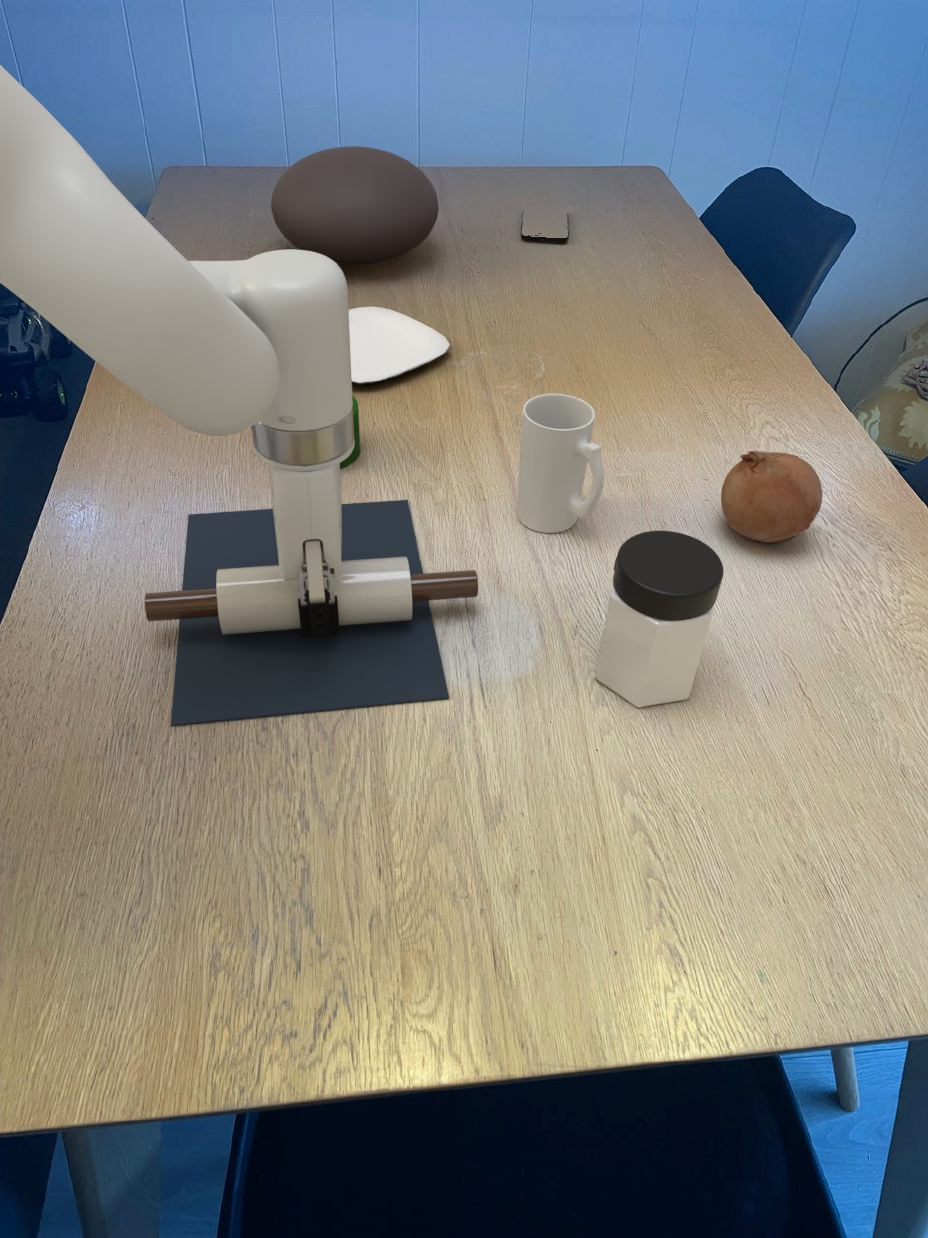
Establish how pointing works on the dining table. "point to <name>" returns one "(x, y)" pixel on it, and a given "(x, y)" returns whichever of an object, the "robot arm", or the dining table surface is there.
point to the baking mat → (285, 661)
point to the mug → (557, 463)
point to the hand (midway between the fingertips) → (318, 608)
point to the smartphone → (544, 239)
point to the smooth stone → (355, 205)
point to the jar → (658, 616)
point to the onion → (771, 496)
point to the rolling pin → (273, 602)
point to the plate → (389, 344)
